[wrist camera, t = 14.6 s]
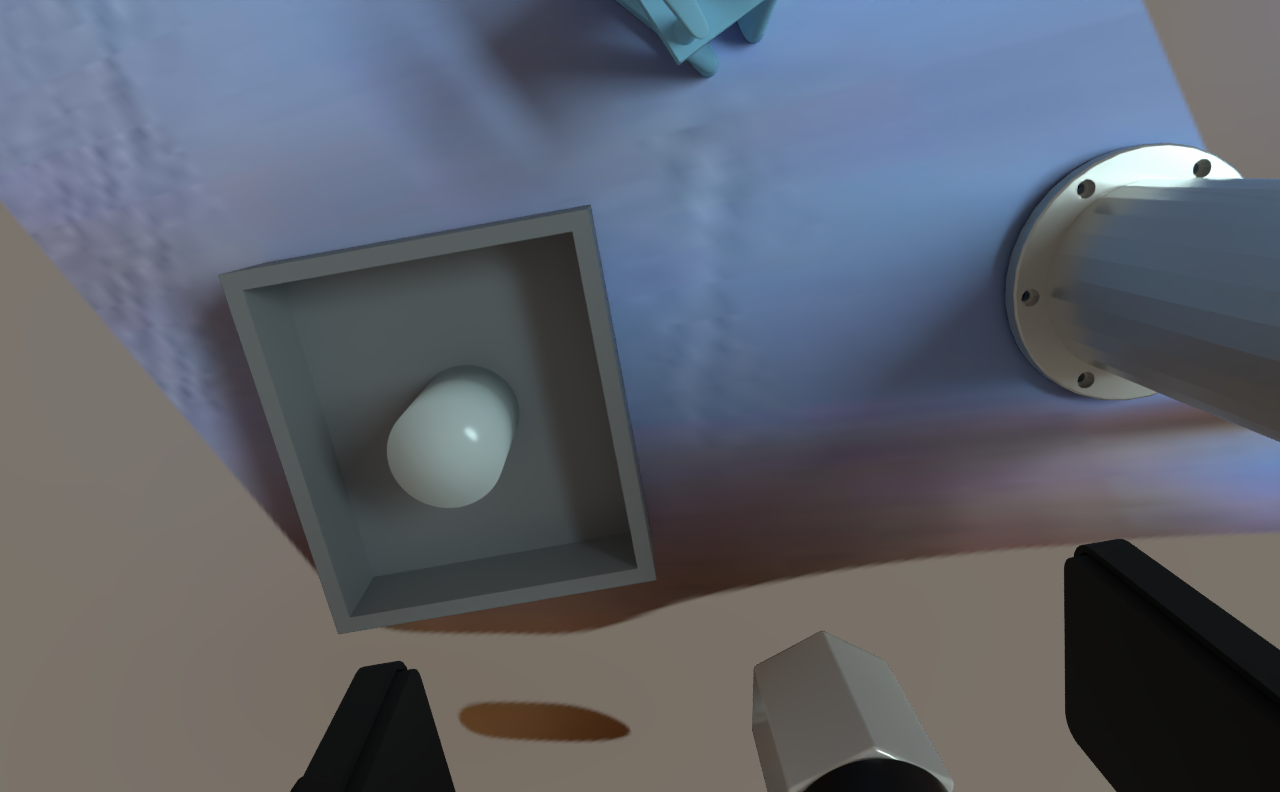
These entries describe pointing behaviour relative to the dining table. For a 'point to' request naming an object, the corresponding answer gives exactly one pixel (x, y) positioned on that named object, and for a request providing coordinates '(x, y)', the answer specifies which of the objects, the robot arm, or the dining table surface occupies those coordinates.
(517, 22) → the dining table surface
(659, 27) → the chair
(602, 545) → the bin
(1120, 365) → the robot arm
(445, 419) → the pale green capsule
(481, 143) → the dining table surface
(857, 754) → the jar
